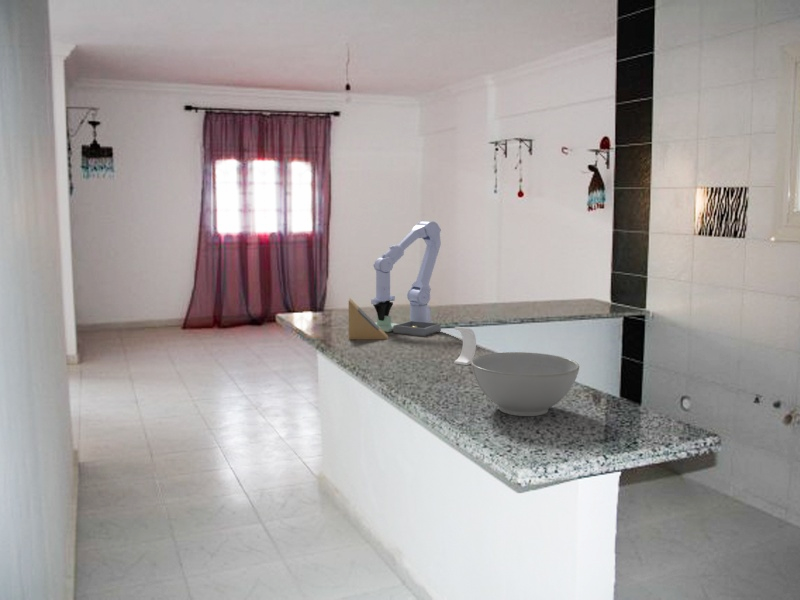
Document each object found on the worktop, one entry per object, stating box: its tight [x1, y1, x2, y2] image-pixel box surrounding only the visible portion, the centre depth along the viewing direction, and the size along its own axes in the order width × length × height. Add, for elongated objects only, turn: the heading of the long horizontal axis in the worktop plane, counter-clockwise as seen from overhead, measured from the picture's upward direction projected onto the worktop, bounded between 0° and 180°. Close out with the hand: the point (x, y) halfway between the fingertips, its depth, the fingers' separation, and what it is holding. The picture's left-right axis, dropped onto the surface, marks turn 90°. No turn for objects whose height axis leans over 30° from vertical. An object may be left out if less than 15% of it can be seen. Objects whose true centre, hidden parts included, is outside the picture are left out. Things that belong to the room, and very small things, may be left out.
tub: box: [392, 320, 442, 337], centre depth 301 cm, size 14×14×3 cm
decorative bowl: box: [470, 351, 580, 417], centre depth 188 cm, size 27×27×12 cm
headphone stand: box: [453, 326, 477, 366], centre depth 243 cm, size 5×6×12 cm
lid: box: [375, 315, 398, 333], centre depth 308 cm, size 14×14×5 cm
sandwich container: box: [348, 298, 389, 340], centre depth 289 cm, size 9×15×15 cm, turn 92°
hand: (383, 319), depth 309 cm, fingers closed
